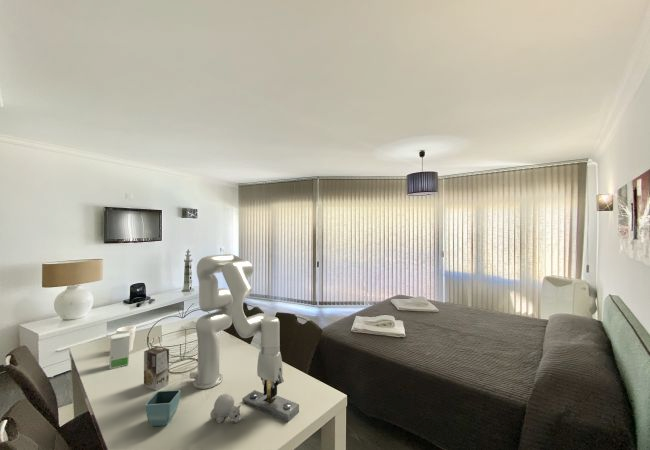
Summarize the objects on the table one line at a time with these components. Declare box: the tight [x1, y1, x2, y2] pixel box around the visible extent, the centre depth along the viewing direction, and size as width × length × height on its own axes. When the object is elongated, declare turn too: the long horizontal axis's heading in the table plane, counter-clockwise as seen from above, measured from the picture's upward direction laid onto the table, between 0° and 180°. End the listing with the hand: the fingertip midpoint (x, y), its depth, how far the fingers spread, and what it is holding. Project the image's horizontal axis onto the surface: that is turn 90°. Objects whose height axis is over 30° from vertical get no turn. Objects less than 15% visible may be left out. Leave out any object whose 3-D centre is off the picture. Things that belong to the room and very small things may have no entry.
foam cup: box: [115, 325, 137, 352], centre depth 163 cm, size 10×9×13 cm
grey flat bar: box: [241, 389, 300, 423], centre depth 110 cm, size 24×7×3 cm, turn 59°
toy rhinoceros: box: [209, 393, 243, 424], centre depth 102 cm, size 7×12×8 cm, turn 70°
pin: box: [267, 380, 274, 402], centre depth 110 cm, size 3×3×10 cm
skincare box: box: [108, 333, 130, 370], centre depth 145 cm, size 8×7×16 cm
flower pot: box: [144, 389, 181, 427], centre depth 101 cm, size 9×9×9 cm
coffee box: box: [143, 345, 170, 391], centre depth 126 cm, size 9×6×16 cm
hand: (270, 394), depth 110 cm, fingers closed on pin, 3 cm apart
